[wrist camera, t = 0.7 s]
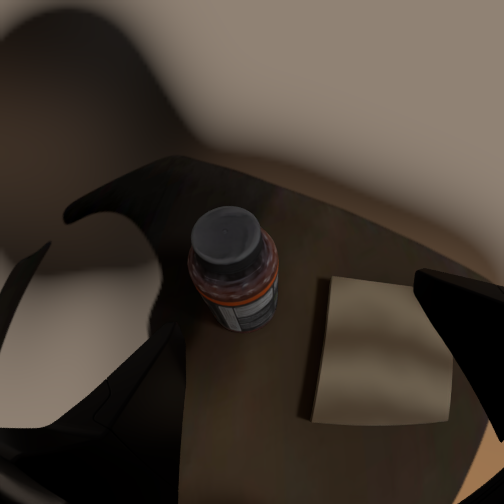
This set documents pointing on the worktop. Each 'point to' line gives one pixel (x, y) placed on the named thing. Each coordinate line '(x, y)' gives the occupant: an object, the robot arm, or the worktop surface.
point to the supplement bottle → (234, 268)
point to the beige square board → (380, 359)
